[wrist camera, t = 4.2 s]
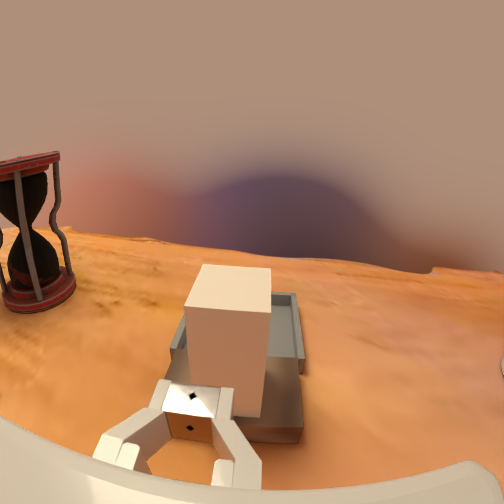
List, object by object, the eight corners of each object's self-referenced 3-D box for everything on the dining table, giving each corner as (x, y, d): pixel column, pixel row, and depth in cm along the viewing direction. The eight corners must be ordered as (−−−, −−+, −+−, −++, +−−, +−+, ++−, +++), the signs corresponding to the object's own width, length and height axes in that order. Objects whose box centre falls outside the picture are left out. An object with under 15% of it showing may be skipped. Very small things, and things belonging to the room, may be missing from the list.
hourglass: (69, 266, 57) (55, 150, 48) (84, 299, 46) (65, 151, 37) (5, 284, 47) (-17, 164, 38) (4, 322, 36) (-31, 171, 27)
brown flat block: (293, 375, 34) (297, 357, 33) (298, 443, 25) (303, 427, 24) (178, 366, 35) (176, 347, 34) (157, 429, 25) (151, 412, 24)
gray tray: (294, 306, 49) (295, 293, 48) (301, 373, 35) (305, 358, 34) (196, 299, 50) (196, 286, 49) (171, 362, 35) (169, 347, 34)
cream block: (261, 367, 31) (270, 268, 27) (259, 417, 25) (271, 312, 20) (207, 363, 32) (203, 264, 27) (195, 411, 25) (184, 305, 21)
